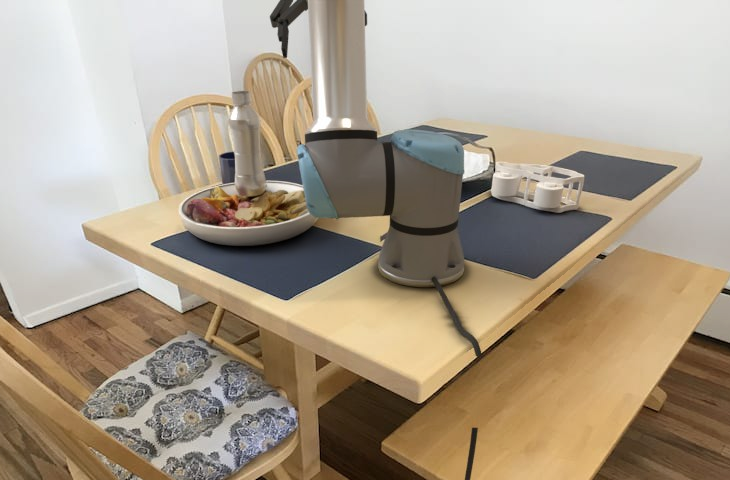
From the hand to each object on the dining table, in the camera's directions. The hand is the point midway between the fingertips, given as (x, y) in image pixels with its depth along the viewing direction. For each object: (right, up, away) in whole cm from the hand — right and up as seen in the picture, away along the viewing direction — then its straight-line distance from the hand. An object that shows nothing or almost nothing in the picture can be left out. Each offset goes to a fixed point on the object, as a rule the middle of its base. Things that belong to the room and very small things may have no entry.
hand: (316, 53), depth 113 cm
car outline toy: (+49, -27, +14) cm, 58 cm away
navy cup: (-21, -22, +25) cm, 39 cm away
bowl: (-14, -34, +6) cm, 37 cm away
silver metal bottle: (-14, -29, +3) cm, 32 cm away
